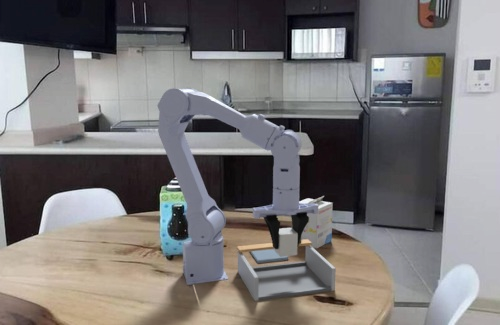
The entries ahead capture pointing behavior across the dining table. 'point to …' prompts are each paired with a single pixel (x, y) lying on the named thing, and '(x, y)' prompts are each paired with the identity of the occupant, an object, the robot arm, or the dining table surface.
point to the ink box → (318, 223)
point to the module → (287, 242)
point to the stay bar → (267, 246)
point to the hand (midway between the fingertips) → (285, 246)
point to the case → (288, 277)
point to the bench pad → (267, 256)
